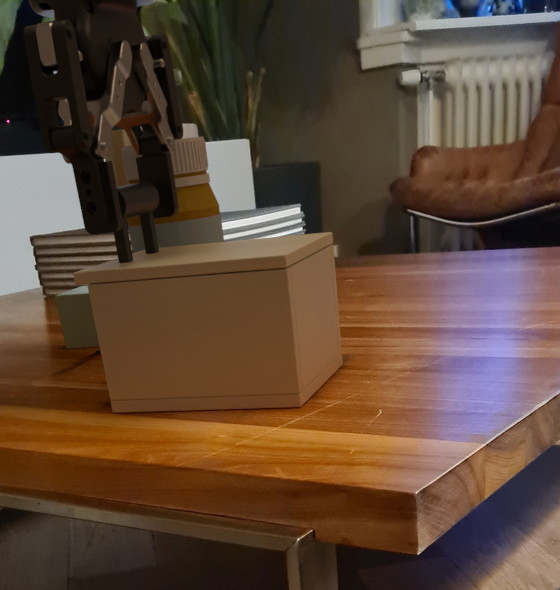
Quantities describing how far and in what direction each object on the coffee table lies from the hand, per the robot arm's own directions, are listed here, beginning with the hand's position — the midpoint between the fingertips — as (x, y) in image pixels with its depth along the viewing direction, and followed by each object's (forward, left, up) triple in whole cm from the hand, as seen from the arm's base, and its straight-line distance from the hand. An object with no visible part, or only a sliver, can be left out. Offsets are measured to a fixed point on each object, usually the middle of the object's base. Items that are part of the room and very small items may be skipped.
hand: (135, 224), depth 58 cm
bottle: (-3, +13, -11) cm, 17 cm away
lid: (+5, 0, -3) cm, 5 cm away
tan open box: (+5, 0, -11) cm, 12 cm away
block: (-13, +17, -11) cm, 23 cm away
